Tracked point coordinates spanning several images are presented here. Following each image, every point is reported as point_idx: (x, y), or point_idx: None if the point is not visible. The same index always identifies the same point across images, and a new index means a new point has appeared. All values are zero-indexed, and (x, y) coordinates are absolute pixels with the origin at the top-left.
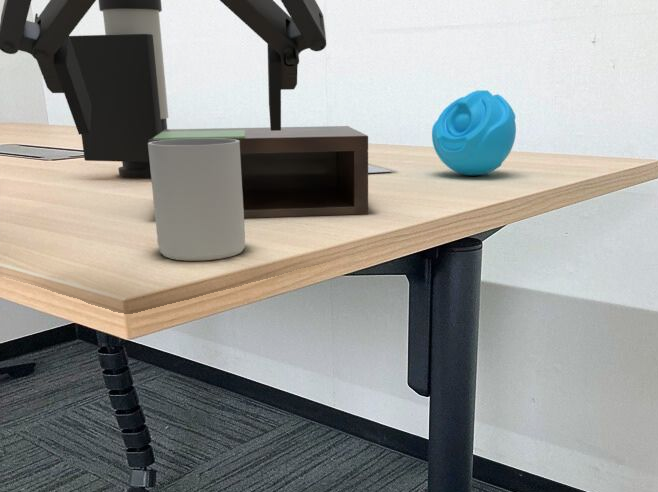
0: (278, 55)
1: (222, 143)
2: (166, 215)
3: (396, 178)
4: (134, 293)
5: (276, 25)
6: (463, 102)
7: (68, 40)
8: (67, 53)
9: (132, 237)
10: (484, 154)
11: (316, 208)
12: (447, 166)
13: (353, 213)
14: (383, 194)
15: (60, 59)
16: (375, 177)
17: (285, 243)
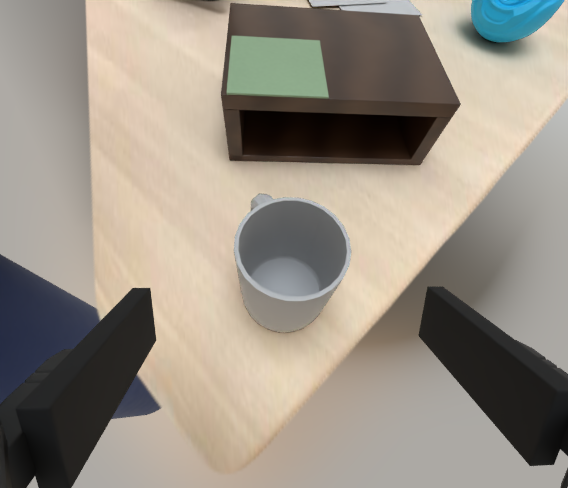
0: (556, 449)
1: (322, 213)
2: (254, 311)
3: None
4: (230, 464)
5: None
6: None
7: (56, 420)
8: (65, 457)
9: (212, 220)
10: (519, 32)
11: (376, 159)
12: (474, 26)
13: (407, 163)
14: None
15: (52, 480)
16: None
17: (357, 268)
